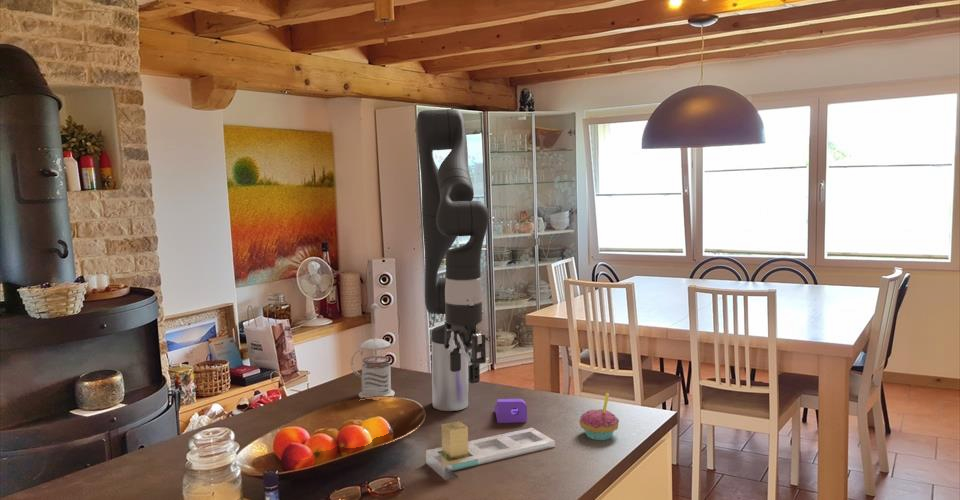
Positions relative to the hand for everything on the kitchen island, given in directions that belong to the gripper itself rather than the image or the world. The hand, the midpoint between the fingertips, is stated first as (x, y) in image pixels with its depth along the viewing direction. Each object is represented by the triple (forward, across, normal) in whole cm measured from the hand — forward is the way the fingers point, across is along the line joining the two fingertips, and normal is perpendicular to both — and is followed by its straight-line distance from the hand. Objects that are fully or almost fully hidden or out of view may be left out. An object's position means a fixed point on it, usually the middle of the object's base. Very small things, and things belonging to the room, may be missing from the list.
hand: (464, 376), depth 143 cm
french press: (+19, -51, -3) cm, 54 cm away
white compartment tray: (+18, +2, +5) cm, 19 cm away
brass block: (+16, +2, -4) cm, 17 cm away
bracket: (+19, -16, +20) cm, 32 cm away
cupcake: (+18, +6, +30) cm, 36 cm away
